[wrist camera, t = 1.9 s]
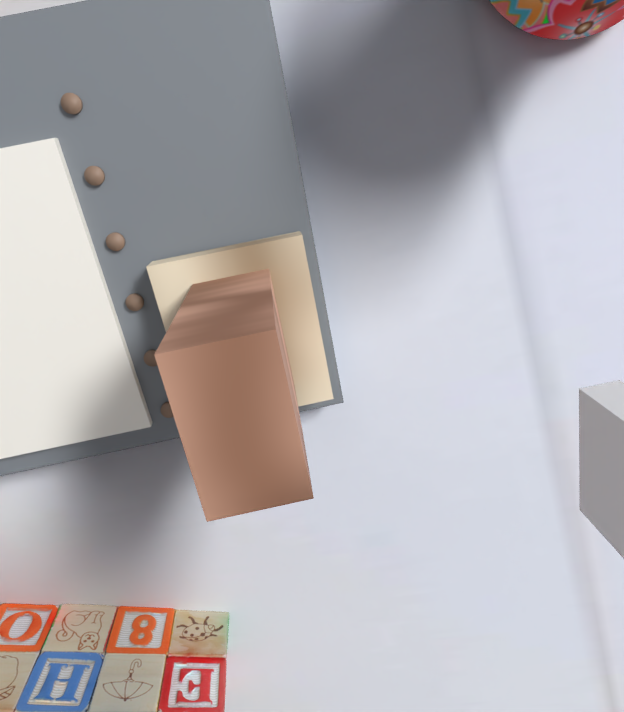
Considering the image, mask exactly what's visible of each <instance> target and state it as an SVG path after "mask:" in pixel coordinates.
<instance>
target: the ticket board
mask: <svg viewBox="0 0 624 712" xmlns="http://www.w3.org/2000/svg"><path fill="white" fill-rule="evenodd" d="M298 231H300V232H301V234H302V236H303V241H304V246H305V252H306V257H307V262H308V267H309V273H310V278H311V283H312V288H313V294H314V299H315V304H316V309H317V314H318V320H319V325H320V330H321V335H322V341H323V346H324V351H325V356H326V361H327V367H328V372H329V377H330V382H331V388H332V393H333V398H334V399H331V400H326V401H322V402H317V403H312V404H308V405H303V406H298V409H299V412H301V411H306V410H311V409H315V408H320V407H325V406H329V405H334V404H339V403H343V396H342V391H341V386H340V380H339V375H338V369H337V364H336V358H335V353H334V348H333V342H332V337H331V331H330V326H329V320H328V315H327V310H326V304H325V299H324V293H323V288H322V283H321V277H320V272H319V266H318V261H317V255H316V250H315V245H314V239H313V234H312V228H311V223H310V217H309V212H308V207H307V201H306V196H305V190H304V185H303V180H302V174H301V169H300V163H299V158H298V152H297V147H296V142H295V136H294V131H293V125H292V120H291V114H290V109H289V104H288V98H287V93H286V87H285V82H284V77H283V71H282V66H281V60H280V55H279V49H278V44H277V39H276V33H275V28H274V22H273V17H272V11H271V6H270V1H269V0H86V1H81V2H76V3H71V4H65V5H60V6H55V7H50V8H44V9H39V10H34V11H29V12H24V13H18V14H13V15H8V16H3V17H0V476H2V475H7V474H12V473H16V472H21V471H26V470H30V469H35V468H40V467H44V466H49V465H54V464H58V463H63V462H68V461H72V460H77V459H82V458H86V457H91V456H96V455H100V454H105V453H110V452H114V451H119V450H124V449H128V448H133V447H138V446H142V445H147V444H152V443H157V442H161V441H166V440H171V439H175V438H180V435H179V432H178V429H177V425H176V422H175V419H174V416H173V413H172V409H171V406H170V403H169V400H168V397H167V394H166V390H165V387H164V384H163V381H162V378H161V375H160V371H159V368H158V365H157V362H156V359H155V356H154V354H155V352H156V350H157V349H158V347H159V345H160V343H161V341H162V339H163V338H164V336H165V334H166V331H165V328H164V324H163V321H162V318H161V314H160V311H159V308H158V304H157V301H156V298H155V294H154V291H153V288H152V285H151V281H150V278H149V275H148V271H147V268H146V266H148V265H149V264H150V263H151V262H152V261H156V260H161V259H166V258H171V257H176V256H180V255H185V254H190V253H195V252H200V251H205V250H210V249H215V248H220V247H224V246H229V245H234V244H239V243H244V242H249V241H254V240H259V239H263V238H268V237H273V236H278V235H283V234H288V233H293V232H298Z"/></svg>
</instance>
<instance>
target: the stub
mask: <svg viewBox="0 0 624 712" xmlns="http://www.w3.org/2000/svg"><path fill="white" fill-rule="evenodd" d="M146 268H147V271H148V275H149V278H150V281H151V285H152V288H153V291H154V294H155V298H156V301H157V304H158V308H159V311H160V314H161V318H162V321H163V324H164V328H165V331H166V334H165V336H164V338H163V339H162V341H161V343H160V345H159V347H158V349H157V350H156V352H155V354H154V356H155V359H156V362H157V365H158V368H159V371H160V375H161V378H162V381H163V384H164V387H165V390H166V394H167V397H168V400H169V403H170V406H171V409H172V413H173V416H174V419H175V422H176V425H177V429H178V432H179V435H180V438H181V441H182V444H183V448H184V451H185V454H186V457H187V460H188V463H189V467H190V470H191V473H192V476H193V479H194V482H195V486H196V489H197V492H198V495H199V498H200V501H201V505H202V508H203V511H204V514H205V517H206V520H207V522H208V521H212V520H217V519H221V518H226V517H231V516H235V515H240V514H244V513H249V512H253V511H258V510H263V509H267V508H272V507H276V506H281V505H285V504H290V503H295V502H299V501H304V500H308V499H313V492H312V486H311V480H310V474H309V468H308V462H307V456H306V450H305V444H304V438H303V432H302V426H301V420H300V415H299V409H298V406H303V405H308V404H312V403H317V402H322V401H326V400H331V399H334V398H333V393H332V388H331V382H330V377H329V372H328V367H327V361H326V356H325V351H324V346H323V341H322V335H321V330H320V325H319V320H318V314H317V309H316V304H315V299H314V294H313V288H312V283H311V278H310V273H309V267H308V262H307V257H306V252H305V246H304V241H303V236H302V234H301V232H300V231H298V232H293V233H288V234H283V235H278V236H273V237H268V238H263V239H259V240H254V241H249V242H244V243H239V244H234V245H229V246H224V247H220V248H215V249H210V250H205V251H200V252H195V253H190V254H185V255H180V256H176V257H171V258H166V259H161V260H156V261H152V262H151V263H150V264H149V265H148V266H146Z"/></svg>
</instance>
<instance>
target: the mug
mask: <svg viewBox="0 0 624 712" xmlns="http://www.w3.org/2000/svg"><path fill="white" fill-rule="evenodd" d="M489 1H490V2H491V4H492V5H493V6H494V7H495V8H496V10H497V11H498V12H499V13H500V14H501V15H502V16H503V17H504V18H505V19H507V20H508V21H509V22H511V23H512V24H513V25H515V26H516V27H518V28H520V29H521V30H523V31H525V32H528V33H530V34H532V35H536V36H539V37H543V38H548V39H559V40H568V39H577V38H583V37H587V36H590V35H594V34H596V33H599V32H601V31H604V30H606V29H608V28H610V27H611V26H613V25H615V24H617V23H618V22H620V21H621V20H623V19H624V0H489Z"/></svg>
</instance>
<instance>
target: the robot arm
mask: <svg viewBox="0 0 624 712" xmlns="http://www.w3.org/2000/svg"><path fill="white" fill-rule="evenodd" d="M579 471H580V511H581V512H582V513H583V514H584V515H585V516H586V517H587V518H588V519H589V521H590V522H591V523H592V524H593V525H594V526H595V527H596V528H597V529H598V531H599V532H600V533H601V534H602V535H603V536H604V537H605V538H606V539H607V541H608V542H609V543H610V544H611V545H612V546H613V547H614V548H615V549H616V551H617V552H618V553H619V554H620V555H621V556H622V557H623V558H624V383H623V382H621V381H620V380H618V381H613V382H609V383H604V384H599V385H594V386H589V387H585V388H580V389H579Z"/></svg>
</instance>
